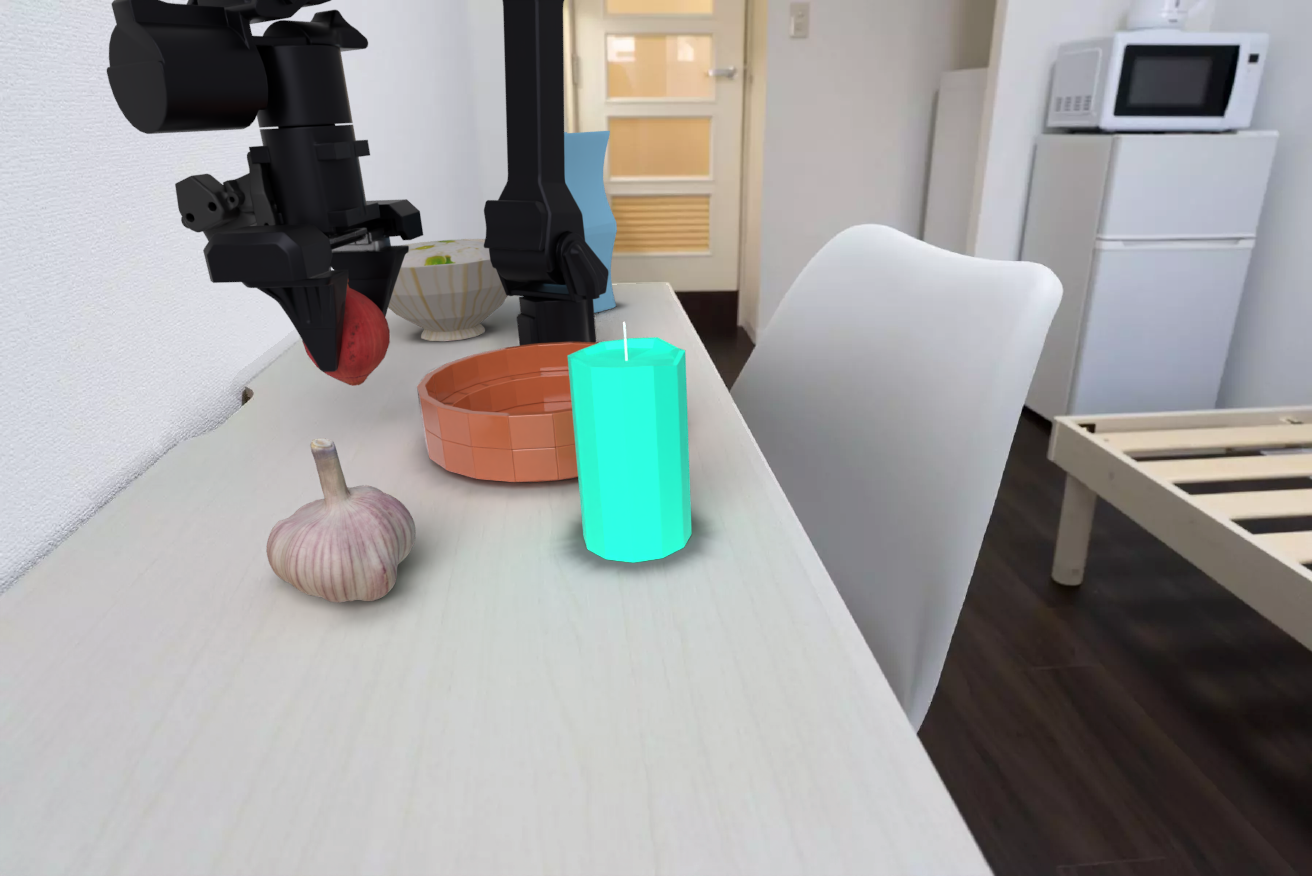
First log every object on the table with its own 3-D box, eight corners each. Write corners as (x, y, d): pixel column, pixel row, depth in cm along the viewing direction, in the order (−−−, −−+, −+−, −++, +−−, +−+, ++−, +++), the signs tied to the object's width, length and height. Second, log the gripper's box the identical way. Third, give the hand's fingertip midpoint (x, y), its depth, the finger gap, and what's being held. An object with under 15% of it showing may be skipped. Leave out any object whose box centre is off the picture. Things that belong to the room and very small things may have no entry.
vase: (621, 305, 101) (610, 130, 94) (574, 318, 96) (559, 134, 89) (576, 298, 106) (563, 132, 99) (529, 311, 101) (511, 135, 93)
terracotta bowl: (585, 387, 71) (580, 330, 70) (719, 440, 58) (717, 372, 57) (391, 439, 62) (380, 374, 60) (499, 516, 49) (489, 437, 47)
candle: (610, 573, 42) (593, 344, 38) (566, 527, 47) (546, 319, 43) (712, 543, 45) (706, 324, 40) (660, 502, 50) (650, 303, 45)
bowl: (575, 321, 95) (568, 231, 91) (452, 365, 80) (437, 260, 76) (453, 307, 105) (442, 226, 101) (323, 345, 90) (305, 251, 86)
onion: (371, 399, 57) (350, 283, 54) (296, 397, 58) (272, 284, 56) (410, 374, 63) (393, 267, 60) (341, 373, 64) (321, 268, 61)
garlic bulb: (406, 616, 39) (378, 461, 36) (248, 630, 39) (206, 474, 36) (432, 540, 46) (410, 405, 44) (298, 551, 46) (266, 415, 43)
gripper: (271, 128, 64) (312, 327, 69) (87, 137, 47) (160, 401, 52) (409, 121, 62) (439, 326, 68) (271, 128, 45) (326, 401, 51)
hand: (350, 358), depth 60 cm, fingers closed on onion, 6 cm apart
